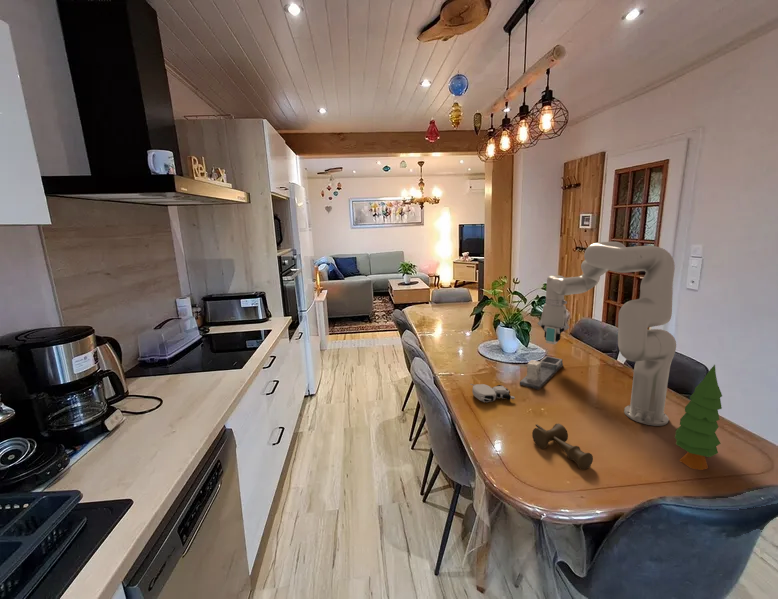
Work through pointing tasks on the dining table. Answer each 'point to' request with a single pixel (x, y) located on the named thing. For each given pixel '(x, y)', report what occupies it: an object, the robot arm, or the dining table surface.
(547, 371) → the rail
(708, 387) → the decorative tree
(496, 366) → the dining table surface
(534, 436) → the kendama
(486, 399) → the robot toy
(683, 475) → the dining table surface
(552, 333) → the cream block teal pad
